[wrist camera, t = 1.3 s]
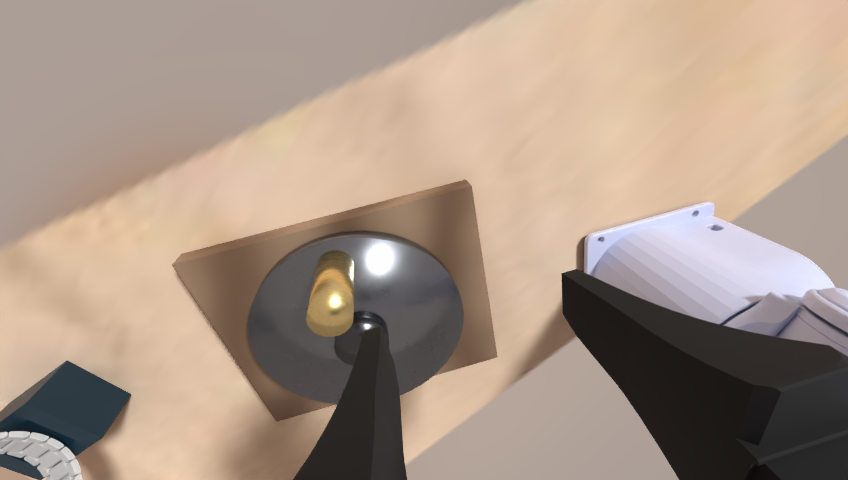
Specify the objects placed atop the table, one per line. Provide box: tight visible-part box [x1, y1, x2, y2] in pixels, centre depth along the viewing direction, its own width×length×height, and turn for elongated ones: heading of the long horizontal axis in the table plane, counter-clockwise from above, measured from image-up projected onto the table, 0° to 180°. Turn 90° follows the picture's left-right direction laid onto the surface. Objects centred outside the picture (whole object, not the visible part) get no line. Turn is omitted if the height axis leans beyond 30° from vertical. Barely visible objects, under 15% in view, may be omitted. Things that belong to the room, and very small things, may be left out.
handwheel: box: [248, 230, 464, 404], centre depth 20 cm, size 13×13×6 cm
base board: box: [172, 180, 497, 421], centre depth 23 cm, size 17×14×1 cm
